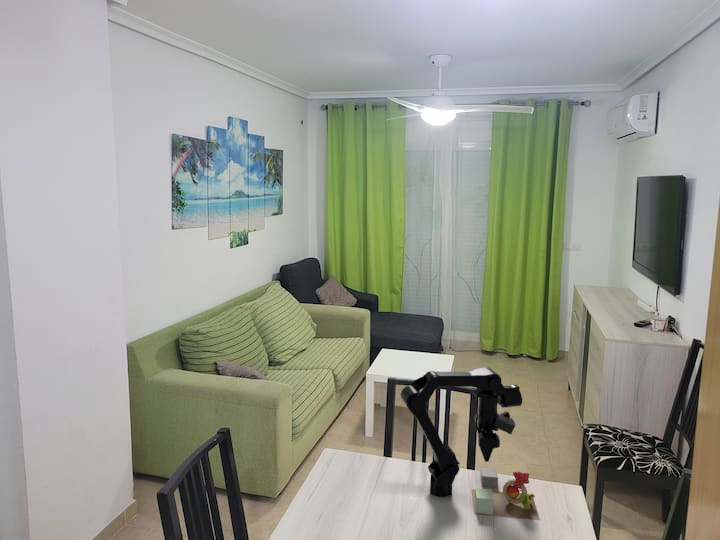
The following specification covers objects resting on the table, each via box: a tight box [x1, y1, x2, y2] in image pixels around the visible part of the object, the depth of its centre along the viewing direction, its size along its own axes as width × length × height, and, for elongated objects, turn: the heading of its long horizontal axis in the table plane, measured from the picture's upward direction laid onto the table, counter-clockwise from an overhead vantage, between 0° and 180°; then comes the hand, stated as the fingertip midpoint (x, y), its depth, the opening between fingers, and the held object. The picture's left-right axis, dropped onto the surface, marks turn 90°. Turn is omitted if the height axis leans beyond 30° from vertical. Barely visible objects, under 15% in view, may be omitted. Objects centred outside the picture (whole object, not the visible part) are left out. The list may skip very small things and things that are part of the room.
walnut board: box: [471, 488, 541, 521], centre depth 168 cm, size 19×13×2 cm
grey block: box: [480, 467, 499, 488], centre depth 180 cm, size 5×5×5 cm
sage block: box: [475, 487, 494, 515], centre depth 165 cm, size 5×5×5 cm
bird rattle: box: [502, 471, 536, 509], centre depth 167 cm, size 6×11×9 cm
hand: (485, 453), depth 175 cm, fingers open, 9 cm apart
